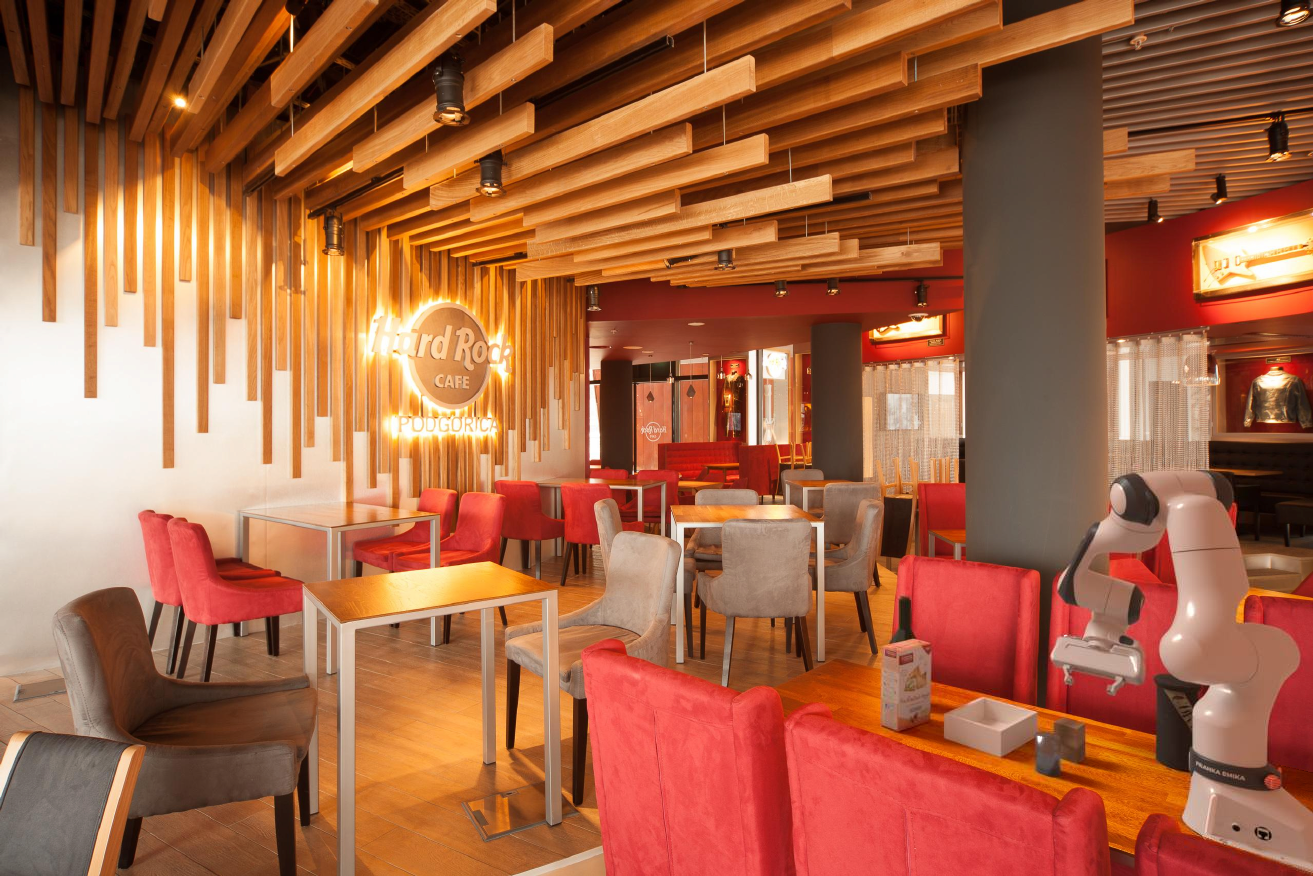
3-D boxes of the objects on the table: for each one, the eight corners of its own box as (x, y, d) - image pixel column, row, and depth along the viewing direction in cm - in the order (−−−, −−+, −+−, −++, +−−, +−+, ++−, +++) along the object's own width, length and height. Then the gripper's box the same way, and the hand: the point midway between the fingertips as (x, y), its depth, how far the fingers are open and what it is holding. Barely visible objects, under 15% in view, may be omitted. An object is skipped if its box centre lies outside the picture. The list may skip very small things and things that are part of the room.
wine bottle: (882, 699, 203) (883, 595, 204) (904, 695, 207) (905, 592, 207) (904, 709, 196) (904, 600, 196) (926, 705, 199) (927, 598, 200)
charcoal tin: (1064, 772, 158) (1064, 736, 158) (1055, 779, 155) (1055, 742, 155) (1040, 764, 162) (1040, 729, 162) (1031, 770, 159) (1031, 735, 159)
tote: (1037, 736, 178) (1037, 712, 178) (1000, 757, 166) (1000, 731, 166) (982, 719, 189) (982, 696, 189) (944, 738, 176) (944, 714, 176)
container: (1182, 774, 158) (1181, 684, 158) (1144, 757, 166) (1144, 672, 167) (1211, 770, 160) (1211, 681, 160) (1172, 753, 169) (1172, 669, 169)
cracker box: (899, 733, 179) (899, 650, 179) (879, 726, 184) (880, 645, 184) (932, 721, 187) (932, 642, 187) (912, 714, 192) (912, 637, 192)
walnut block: (1085, 758, 166) (1085, 723, 166) (1076, 764, 162) (1076, 729, 163) (1062, 751, 170) (1062, 717, 170) (1053, 756, 166) (1053, 722, 166)
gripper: (1056, 626, 186) (1040, 670, 180) (1146, 643, 171) (1132, 692, 164) (1063, 640, 189) (1047, 684, 183) (1152, 658, 173) (1139, 707, 167)
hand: (1088, 688), depth 173 cm, fingers open, 8 cm apart
